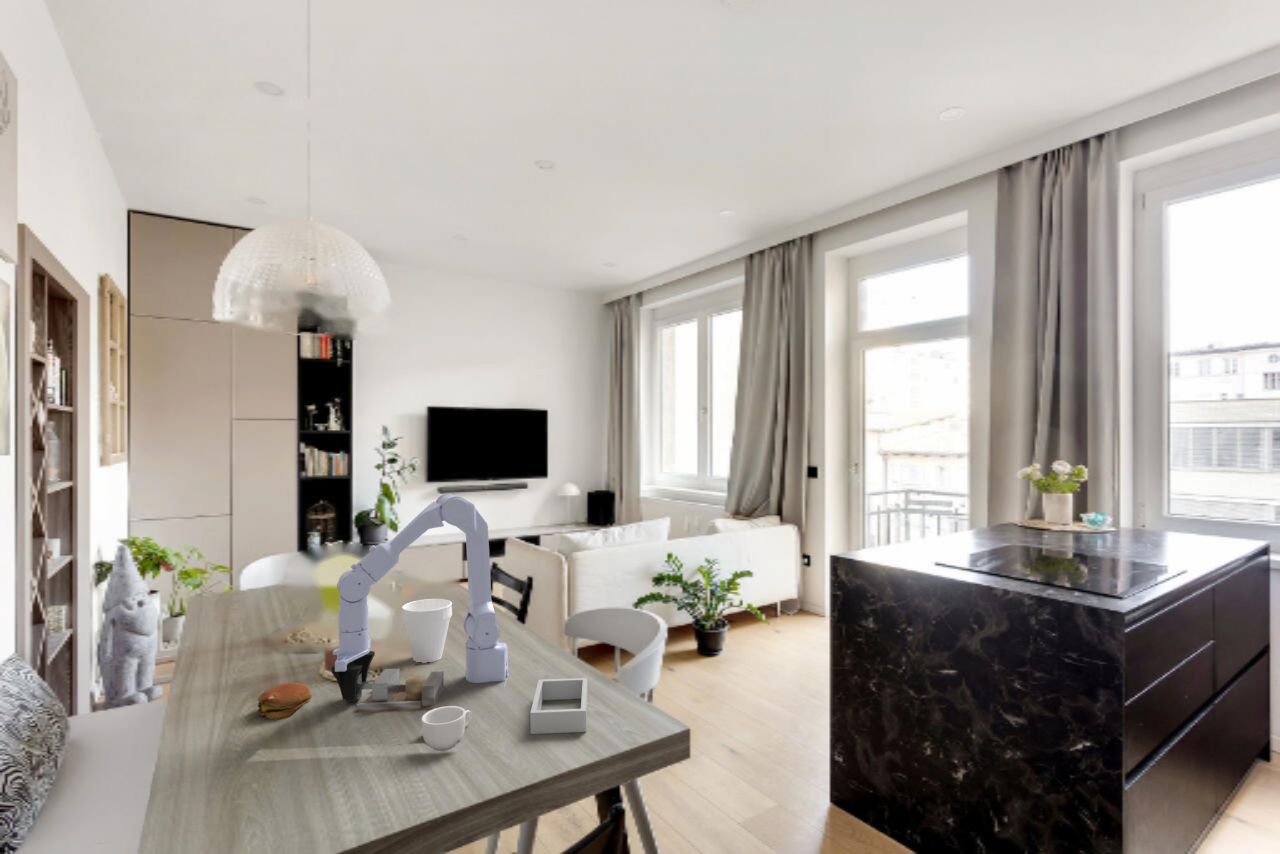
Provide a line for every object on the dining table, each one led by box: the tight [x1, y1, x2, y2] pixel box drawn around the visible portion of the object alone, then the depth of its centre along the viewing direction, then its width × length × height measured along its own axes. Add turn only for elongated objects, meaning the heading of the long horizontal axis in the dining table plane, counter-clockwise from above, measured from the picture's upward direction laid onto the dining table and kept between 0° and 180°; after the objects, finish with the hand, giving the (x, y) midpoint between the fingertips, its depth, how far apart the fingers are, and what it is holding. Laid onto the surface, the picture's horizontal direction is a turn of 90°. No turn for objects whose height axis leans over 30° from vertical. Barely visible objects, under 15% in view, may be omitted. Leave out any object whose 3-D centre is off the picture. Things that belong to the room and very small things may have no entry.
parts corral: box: [529, 677, 589, 735], centre depth 130 cm, size 10×16×4 cm, turn 4°
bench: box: [355, 670, 447, 714], centre depth 135 cm, size 15×12×6 cm
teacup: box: [421, 705, 473, 751], centre depth 119 cm, size 10×8×5 cm
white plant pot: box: [401, 598, 453, 664], centre depth 164 cm, size 12×12×14 cm
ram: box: [345, 668, 401, 703], centre depth 134 cm, size 9×8×5 cm
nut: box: [404, 675, 427, 701], centre depth 135 cm, size 4×4×4 cm
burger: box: [257, 682, 312, 720], centre depth 134 cm, size 10×9×5 cm
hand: (354, 693), depth 134 cm, fingers open, 5 cm apart
